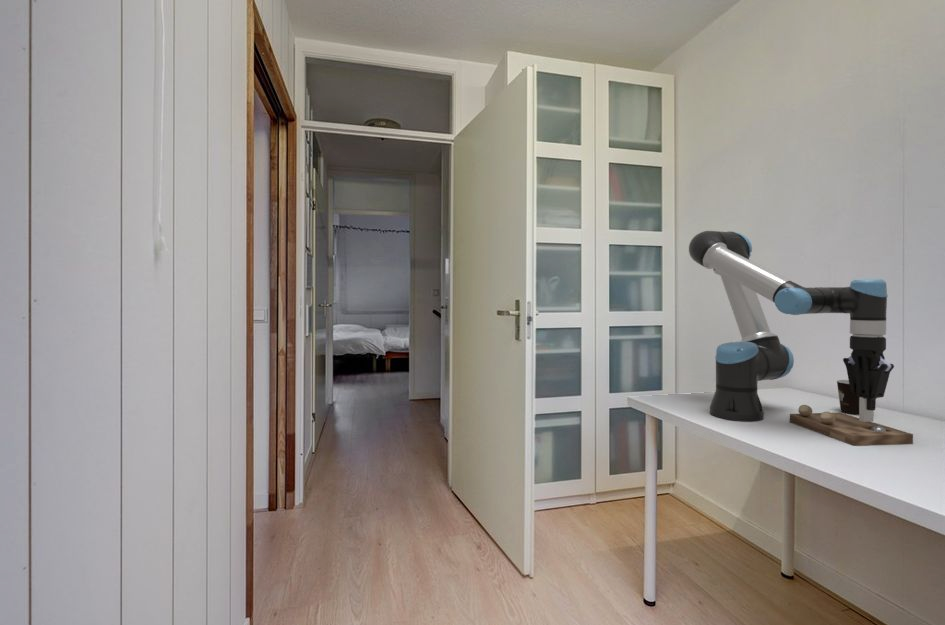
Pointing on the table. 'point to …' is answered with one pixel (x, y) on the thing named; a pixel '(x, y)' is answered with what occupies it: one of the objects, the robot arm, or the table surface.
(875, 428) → the steel ball
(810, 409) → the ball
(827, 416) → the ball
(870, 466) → the table surface
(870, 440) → the walnut plate
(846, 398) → the coffee mug
